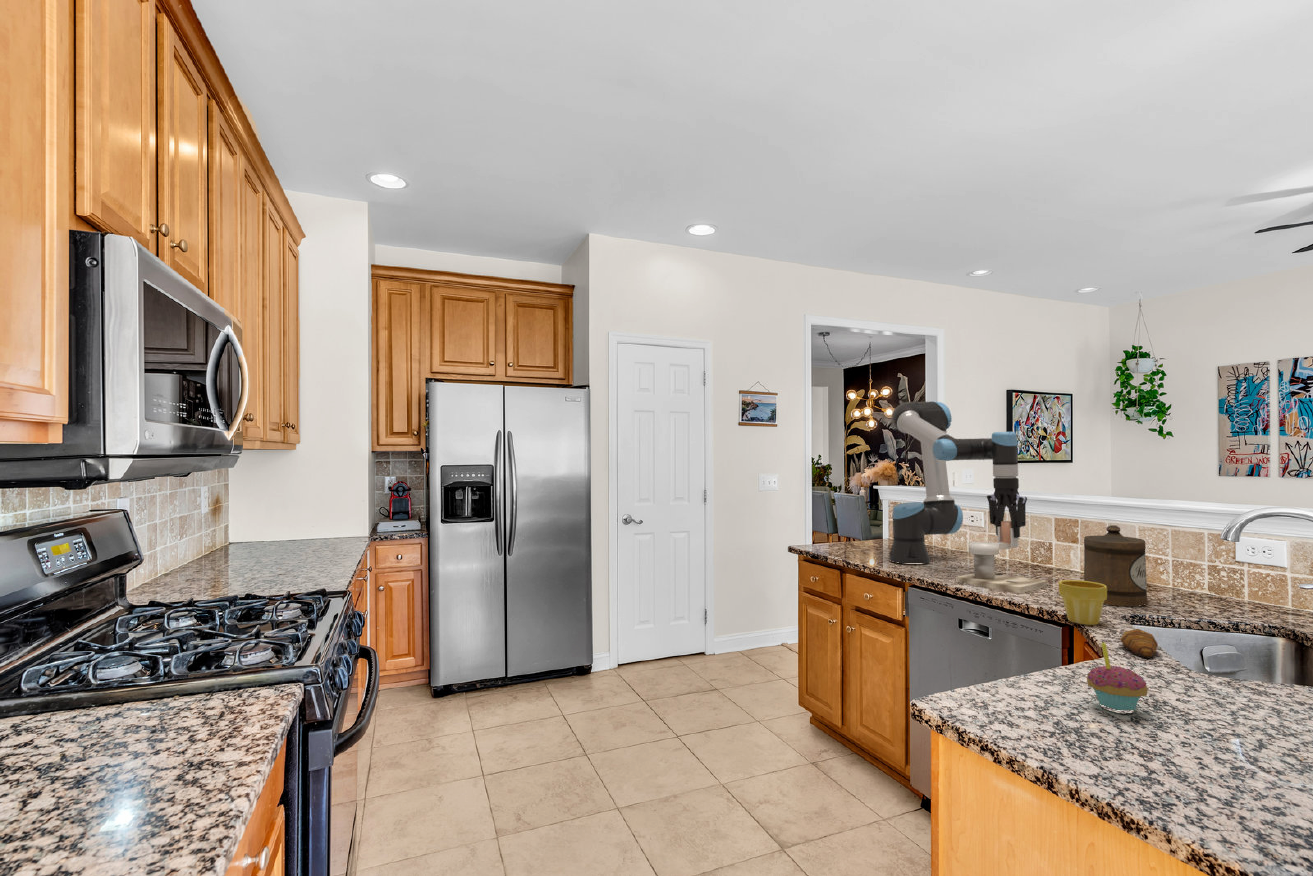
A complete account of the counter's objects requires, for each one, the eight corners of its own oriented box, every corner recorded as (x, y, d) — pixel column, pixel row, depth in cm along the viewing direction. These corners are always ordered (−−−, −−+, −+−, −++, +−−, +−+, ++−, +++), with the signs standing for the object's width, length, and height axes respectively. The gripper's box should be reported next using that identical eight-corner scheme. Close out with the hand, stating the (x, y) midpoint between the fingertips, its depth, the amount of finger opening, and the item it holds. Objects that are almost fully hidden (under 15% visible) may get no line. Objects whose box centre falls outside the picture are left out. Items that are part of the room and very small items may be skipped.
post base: (956, 582, 213) (955, 552, 213) (983, 576, 222) (982, 548, 222) (1020, 594, 196) (1019, 561, 196) (1047, 587, 204) (1046, 556, 204)
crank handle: (984, 555, 205) (984, 525, 205) (962, 551, 214) (961, 522, 214) (1024, 551, 211) (1023, 522, 212) (1001, 548, 220) (1000, 520, 220)
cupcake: (1103, 718, 106) (1101, 646, 107) (1077, 698, 115) (1075, 631, 115) (1160, 720, 105) (1157, 647, 105) (1129, 700, 114) (1127, 632, 114)
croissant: (1168, 662, 133) (1167, 638, 133) (1129, 659, 136) (1128, 635, 136) (1148, 644, 146) (1147, 622, 146) (1112, 641, 148) (1112, 619, 148)
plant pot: (1093, 616, 169) (1092, 579, 169) (1117, 627, 158) (1116, 588, 159) (1051, 616, 170) (1050, 579, 170) (1073, 627, 160) (1072, 587, 160)
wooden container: (1153, 609, 175) (1150, 529, 176) (1088, 604, 182) (1086, 527, 182) (1141, 597, 188) (1138, 523, 189) (1081, 593, 195) (1079, 521, 196)
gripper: (1037, 477, 209) (1039, 548, 208) (991, 476, 225) (993, 542, 224) (1021, 478, 206) (1024, 550, 205) (976, 477, 222) (978, 544, 221)
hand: (1008, 546), depth 215 cm, fingers closed on crank handle, 4 cm apart
